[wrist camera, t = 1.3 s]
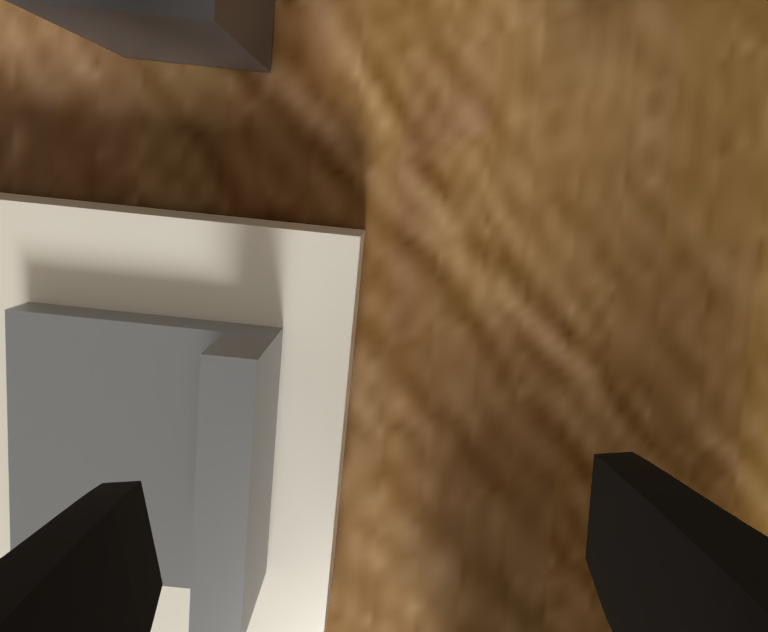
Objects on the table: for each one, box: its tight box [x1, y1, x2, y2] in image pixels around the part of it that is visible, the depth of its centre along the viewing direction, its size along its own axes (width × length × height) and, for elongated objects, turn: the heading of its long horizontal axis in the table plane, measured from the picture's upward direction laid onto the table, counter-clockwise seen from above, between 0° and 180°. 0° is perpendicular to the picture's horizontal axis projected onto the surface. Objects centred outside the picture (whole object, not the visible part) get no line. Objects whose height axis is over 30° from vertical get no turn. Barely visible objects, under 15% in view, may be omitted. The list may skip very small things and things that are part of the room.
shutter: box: [5, 302, 283, 632], centre depth 15 cm, size 6×7×3 cm
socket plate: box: [0, 192, 365, 632], centre depth 18 cm, size 11×12×2 cm
